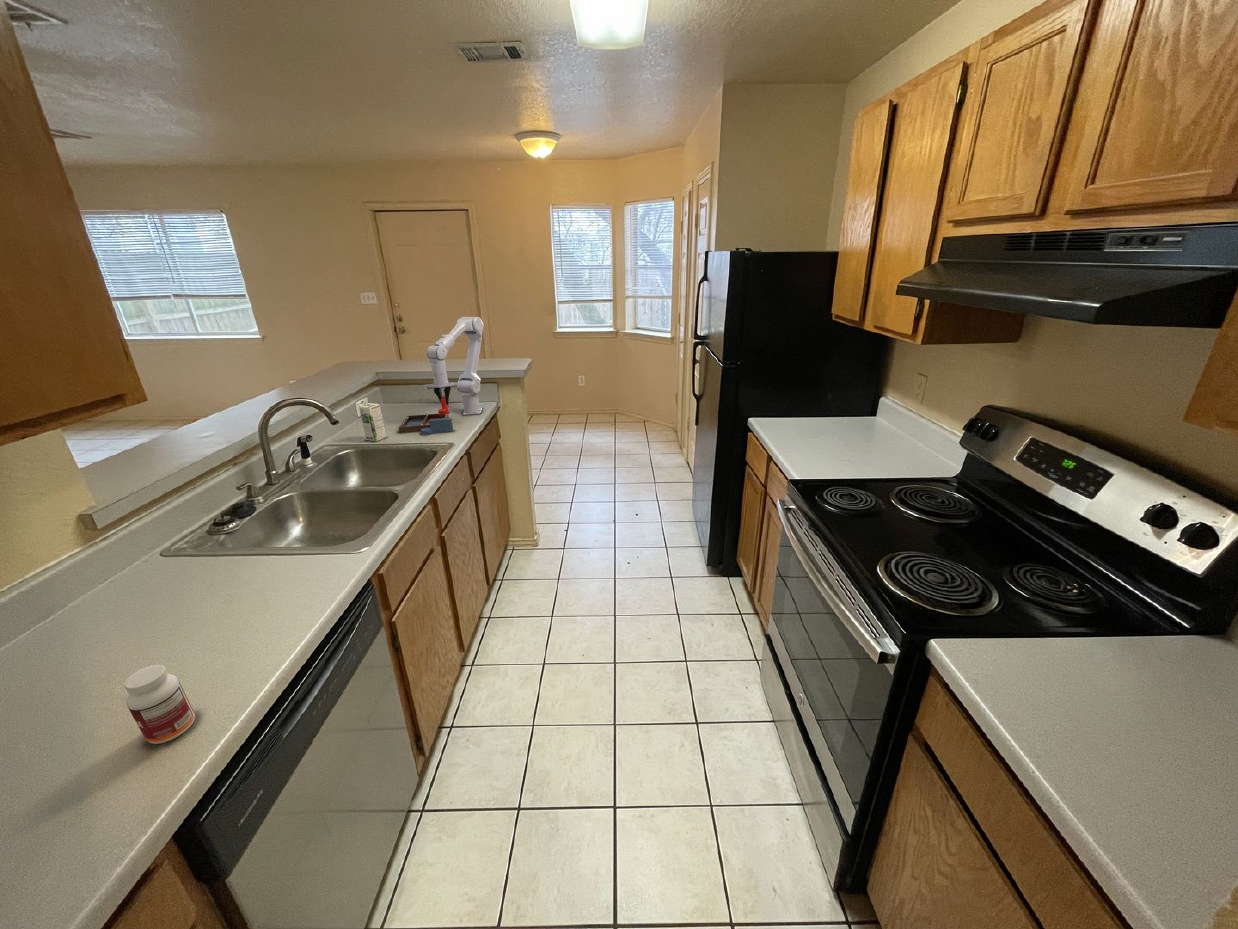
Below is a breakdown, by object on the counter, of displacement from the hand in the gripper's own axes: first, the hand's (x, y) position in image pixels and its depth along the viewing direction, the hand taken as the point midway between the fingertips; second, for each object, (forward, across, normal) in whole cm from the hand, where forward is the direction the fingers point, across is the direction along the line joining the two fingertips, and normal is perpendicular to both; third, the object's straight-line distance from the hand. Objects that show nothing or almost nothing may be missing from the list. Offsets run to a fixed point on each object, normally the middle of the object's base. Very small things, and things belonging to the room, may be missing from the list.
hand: (444, 404), depth 224 cm
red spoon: (+3, 0, -2) cm, 3 cm away
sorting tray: (+8, -10, -2) cm, 13 cm away
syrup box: (+9, -27, -15) cm, 32 cm away
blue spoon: (+8, -3, -14) cm, 16 cm away
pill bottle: (+9, -22, -158) cm, 159 cm away
